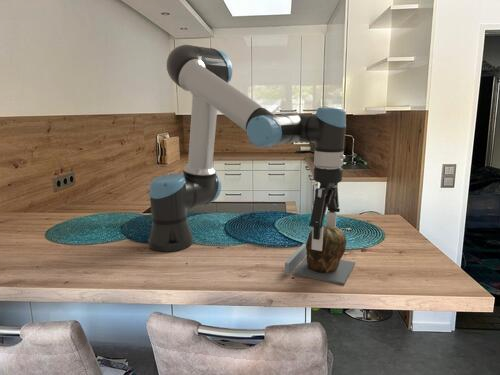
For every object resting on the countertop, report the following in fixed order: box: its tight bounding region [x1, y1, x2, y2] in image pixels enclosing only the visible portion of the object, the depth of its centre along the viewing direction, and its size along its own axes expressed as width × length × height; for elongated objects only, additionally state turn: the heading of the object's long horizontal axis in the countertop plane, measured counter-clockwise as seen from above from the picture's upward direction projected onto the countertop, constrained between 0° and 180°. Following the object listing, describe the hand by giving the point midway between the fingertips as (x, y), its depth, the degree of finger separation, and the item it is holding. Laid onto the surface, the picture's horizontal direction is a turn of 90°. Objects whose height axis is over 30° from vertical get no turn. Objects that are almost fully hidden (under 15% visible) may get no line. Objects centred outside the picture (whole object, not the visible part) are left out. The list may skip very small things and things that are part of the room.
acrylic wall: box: [284, 242, 307, 276], centre depth 105 cm, size 1×16×4 cm, turn 153°
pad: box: [292, 256, 356, 286], centre depth 102 cm, size 14×14×1 cm
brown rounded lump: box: [306, 225, 347, 273], centre depth 100 cm, size 11×11×12 cm
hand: (323, 241), depth 100 cm, fingers open, 13 cm apart
